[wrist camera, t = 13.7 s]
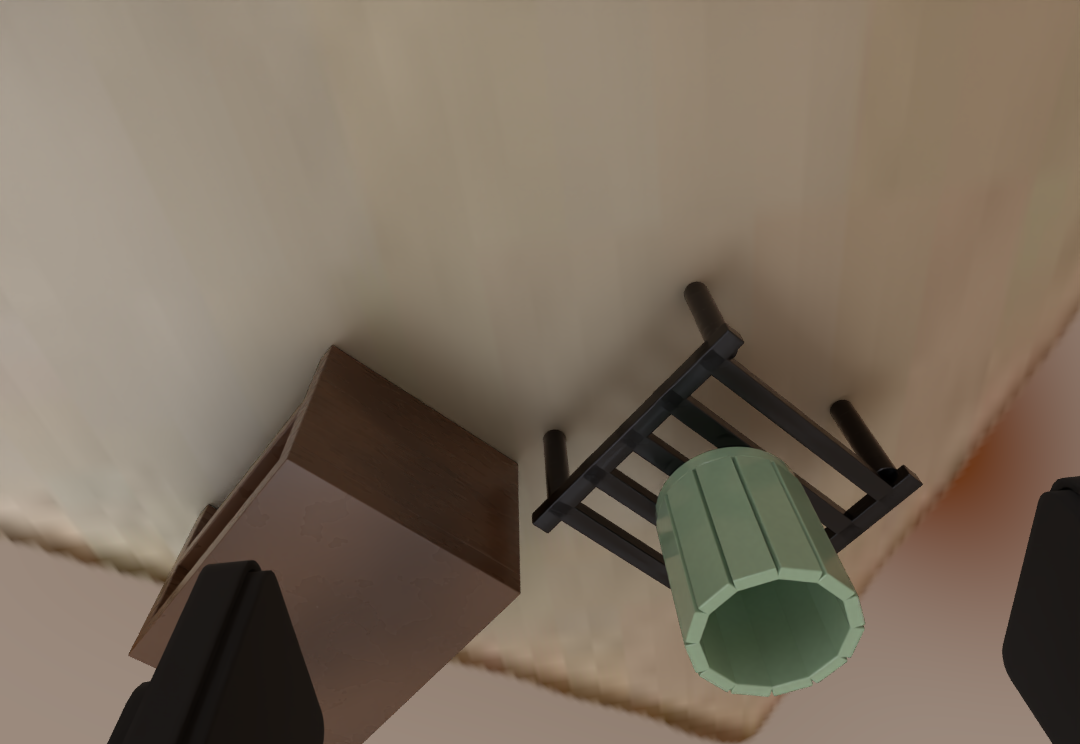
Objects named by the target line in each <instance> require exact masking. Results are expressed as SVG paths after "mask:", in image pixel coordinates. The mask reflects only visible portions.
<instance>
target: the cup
mask: <svg viewBox="0 0 1080 744" xmlns="http://www.w3.org/2000/svg"><path fill="white" fill-rule="evenodd" d="M655 515H656V524H657V526H656V528H657V533H658V537H659V541H660V545H661V549H662V554H663V558H664V562H665V566H666V570H667V574H668V579H669V583H670V587H671V591H672V595H673V599H674V604H675V608H676V612H677V616H678V620H679V625H680V629H681V633H682V637H683V641H684V645H685V648H686V651H687V653H688V655H689V658H690V660H691V663H692V665H693V667H694V670H695V672H696V673H698V674H699V676H700V677H702V678H704V679H705V680H707V681H709V682H710V683H712V684H714V685H715V686H717V687H719V688H721V689H722V690H724V691H726V692H728V691H729V690H731V693H732V694H742V695H754V696H766V697H769V696H770V694H771V691H772V693H773V695H774V696H777V695H781V694H785V693H788V692H792V691H795V690H799V689H803V688H806V687H810V686H812V685H813V683H812V680H813V681H814V682H816V683H819V682H820V681H822V680H823V679H824V678H826V677H827V676H828V675H830V674H831V673H832V672H834V671H835V670H836V669H838V668H839V667H841V666H842V665H843V664H845V663H846V662H847V658H846V657H848V658H850V657H851V656H852V654H853V652H854V650H855V648H856V646H857V644H858V642H859V640H860V638H861V636H862V633H863V631H864V626H863V625H865V620H864V616H863V612H862V609H861V605H860V601H859V597H858V595H857V593H856V591H855V589H854V587H853V585H852V583H851V581H850V579H849V577H848V575H847V573H846V571H845V569H844V567H843V565H842V563H841V561H840V559H839V557H838V555H837V553H836V551H835V549H834V547H833V545H832V543H831V541H830V540H829V538H828V536H827V534H826V532H825V530H824V528H823V526H822V524H821V522H820V520H819V518H818V516H817V514H816V512H815V510H814V508H813V506H812V504H811V502H810V500H809V498H808V496H807V494H806V492H805V490H804V488H803V486H802V484H801V483H800V482H799V480H798V478H796V476H795V475H794V473H793V471H792V470H791V469H790V468H789V467H788V465H786V464H785V463H784V462H783V461H782V460H781V459H779V458H777V457H776V456H774V455H772V454H770V453H768V452H766V451H762V450H759V449H755V448H750V447H725V448H719V449H715V450H711V451H708V452H705V453H702V454H700V455H698V456H696V457H694V458H692V459H690V460H689V461H687V462H686V463H684V464H683V465H681V466H680V467H679V468H678V469H677V470H675V471H674V473H673V474H672V475H671V476H670V477H669V478H668V479H667V481H666V482H665V484H664V485H663V487H662V489H661V491H660V493H659V496H658V499H657V503H656V512H655Z"/></svg>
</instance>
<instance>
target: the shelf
mask: <svg viewBox="0 0 1080 744" xmlns="http://www.w3.org/2000/svg"><path fill="white" fill-rule="evenodd" d="M245 560H255V561H256V562H257V563H258V564H259V566H260V568H261V570H262V571H266V570H272V571H273V572H274V573H275V576H276V578H277V581H278V584H279V587H280V589H281V592H282V595H283V598H284V601H285V604H286V607H287V610H288V613H289V616H290V619H291V622H292V625H293V628H294V631H295V634H296V637H297V640H298V643H299V646H300V649H301V652H302V655H303V657H304V660H305V663H306V666H307V669H308V672H309V675H310V678H311V681H312V684H313V687H314V690H315V693H316V696H317V699H318V702H319V705H320V708H321V711H322V714H323V719H324V742H323V744H362V743H363V742H364V741H365V740H367V739H368V738H369V737H370V736H371V735H372V734H373V733H374V732H375V731H376V730H377V729H378V728H379V727H380V726H381V725H382V724H383V723H384V722H386V720H388V719H389V718H390V717H391V716H392V715H393V714H394V713H395V712H396V711H397V710H398V709H399V708H400V707H401V706H402V705H403V704H405V703H406V702H407V701H408V700H409V699H410V698H411V697H412V696H413V695H414V694H415V693H416V692H417V691H418V690H419V689H420V688H421V687H423V686H424V685H425V684H426V683H427V682H428V681H429V680H430V679H431V678H432V677H433V676H434V675H435V674H436V673H437V672H438V671H439V670H440V669H442V668H443V667H444V666H445V665H446V664H447V663H448V662H449V661H450V660H451V659H452V658H453V657H454V656H455V655H456V654H457V653H458V652H459V651H460V650H462V649H463V648H464V647H465V646H466V645H467V644H468V643H469V642H470V641H471V640H472V639H473V638H474V637H475V636H476V635H477V634H478V633H479V632H481V631H482V630H483V629H484V628H485V627H486V626H487V625H488V624H489V623H490V622H491V621H492V620H493V619H494V618H495V617H496V616H497V615H498V614H500V613H501V612H502V611H503V610H504V609H505V608H506V607H507V606H508V605H509V604H510V603H511V602H512V601H513V600H514V599H515V598H516V597H517V596H519V595H520V553H519V498H518V464H517V463H516V462H514V461H512V460H511V459H509V458H508V457H506V456H505V455H503V454H502V453H500V452H498V451H497V450H495V449H494V448H492V447H491V446H489V445H488V444H486V443H484V442H483V441H481V440H480V439H478V438H477V437H475V436H474V435H472V434H470V433H469V432H467V431H466V430H464V429H463V428H461V427H460V426H458V425H456V424H455V423H453V422H452V421H450V420H449V419H447V418H446V417H444V416H442V415H441V414H439V413H438V412H436V411H435V410H433V409H432V408H430V407H428V406H427V405H425V404H424V403H422V402H421V401H419V400H418V399H416V398H414V397H413V396H411V395H410V394H408V393H407V392H405V391H404V390H402V389H400V388H399V387H397V386H396V385H394V384H393V383H391V382H390V381H388V380H386V379H385V378H383V377H382V376H380V375H379V374H377V373H376V372H374V371H372V370H371V369H369V368H368V367H366V366H365V365H363V364H362V363H360V362H358V361H357V360H355V359H354V358H352V357H351V356H349V355H348V354H346V353H344V352H343V351H341V350H340V349H338V348H337V347H335V346H334V345H332V346H331V347H330V348H329V349H328V351H327V352H326V353H325V355H324V356H323V357H322V358H321V360H320V362H319V364H318V367H317V369H316V372H315V374H314V376H313V379H312V381H311V384H310V386H309V389H308V391H307V393H306V396H305V398H304V401H303V403H301V405H300V406H299V407H298V408H297V410H296V411H295V412H294V413H293V415H292V416H291V417H290V418H289V420H288V421H287V422H286V424H285V425H284V426H283V427H282V429H281V430H280V431H279V432H278V434H277V435H276V436H275V438H274V439H273V440H272V441H271V443H270V444H269V445H268V446H267V448H266V449H265V450H264V452H263V453H262V454H261V455H260V457H259V458H258V459H257V460H256V462H255V463H254V464H253V466H252V467H251V468H250V469H249V471H248V472H247V473H246V474H245V476H244V477H243V478H242V479H241V481H240V482H239V483H238V485H237V486H236V487H235V488H234V490H233V491H232V492H231V493H230V495H229V496H228V497H227V499H226V500H225V501H224V502H223V504H222V505H221V506H220V507H219V509H216V508H214V507H212V506H210V505H207V506H206V508H205V509H204V510H203V512H202V513H201V514H200V515H199V517H198V518H197V520H196V522H195V524H194V526H193V528H192V530H191V532H190V534H189V536H188V538H187V540H186V542H185V544H184V546H183V548H182V550H181V552H180V554H179V556H178V558H177V560H176V562H175V564H174V566H173V568H172V570H171V572H170V574H169V576H168V578H167V580H166V581H165V583H164V585H163V587H162V589H161V591H160V594H159V595H158V598H157V599H156V601H155V603H154V605H153V607H152V609H151V611H150V613H149V615H148V617H147V619H146V621H145V623H144V625H143V627H142V629H141V631H140V633H139V635H138V637H137V639H136V641H135V643H134V644H133V646H132V649H131V650H130V652H129V656H130V657H132V658H135V659H137V660H139V661H141V662H143V663H146V664H148V665H150V666H152V667H154V668H157V666H158V664H159V661H160V659H161V657H162V655H163V653H164V650H165V648H166V646H167V644H168V642H169V639H170V637H171V635H172V633H173V631H174V628H175V626H176V624H177V622H178V620H179V617H180V615H181V613H182V611H183V609H184V606H185V604H186V602H187V600H188V598H189V596H190V593H191V591H192V589H193V587H194V585H195V582H196V580H197V578H198V576H199V574H200V572H201V570H202V569H203V567H205V566H206V565H208V564H216V563H226V562H236V561H245Z"/></svg>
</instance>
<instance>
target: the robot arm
mask: <svg viewBox="0 0 1080 744" xmlns="http://www.w3.org/2000/svg"><path fill="white" fill-rule="evenodd" d="M1002 654H1003V661H1004V665H1005V668H1006V671H1007V673H1008V675H1009V677H1010V679H1011V681H1012V682H1013V684H1014V685H1015V687H1016V688H1017V690H1018V691H1019V693H1020V694H1021V696H1022V698H1023V699H1024V701H1025V702H1026V704H1027V705H1028V707H1029V708H1030V710H1031V711H1032V713H1033V714H1034V716H1035V718H1036V719H1037V721H1038V722H1039V724H1040V725H1041V727H1042V728H1043V730H1044V731H1045V733H1046V734H1047V736H1048V737H1049V739H1050V740H1051V742H1052V744H1080V476H1077V477H1068V478H1061V479H1058V480H1057V481H1056V482H1055V483H1054V484H1053V486H1052V488H1051V490H1050V492H1045V493H1043V494H1042V495H1041V496H1040V499H1039V501H1038V505H1037V509H1036V513H1035V517H1034V521H1033V525H1032V529H1031V533H1030V537H1029V542H1028V545H1027V549H1026V554H1025V558H1024V562H1023V566H1022V570H1021V574H1020V578H1019V582H1018V586H1017V590H1016V594H1015V598H1014V602H1013V606H1012V610H1011V614H1010V619H1009V623H1008V627H1007V631H1006V635H1005V639H1004V643H1003V649H1002ZM323 742H324V719H323V714H322V711H321V708H320V705H319V702H318V699H317V696H316V693H315V690H314V687H313V684H312V681H311V678H310V675H309V672H308V669H307V666H306V663H305V660H304V657H303V655H302V652H301V649H300V646H299V643H298V640H297V637H296V634H295V631H294V628H293V625H292V622H291V619H290V616H289V613H288V610H287V607H286V604H285V601H284V598H283V595H282V592H281V589H280V587H279V584H278V581H277V578H276V576H275V573H274V572H273V571H272V570H266V571H262V570H261V568H260V566H259V564H258V563H257V562H256V561H255V560H245V561H236V562H226V563H216V564H208V565H206V566H205V567H203V569H202V570H201V572H200V574H199V576H198V578H197V580H196V582H195V585H194V587H193V589H192V591H191V593H190V596H189V598H188V600H187V602H186V604H185V606H184V609H183V611H182V613H181V615H180V617H179V620H178V622H177V624H176V626H175V628H174V631H173V633H172V635H171V637H170V639H169V642H168V644H167V646H166V648H165V650H164V653H163V655H162V657H161V659H160V661H159V664H158V666H157V668H156V670H155V673H154V675H153V677H152V679H151V681H149V682H144V683H142V684H141V685H140V686H138V687H137V688H136V689H135V690H134V692H133V693H132V695H131V696H130V698H129V700H128V701H127V703H126V705H125V707H124V709H123V711H122V714H121V716H120V718H119V720H118V722H117V724H116V726H115V728H114V730H113V733H112V735H111V737H110V739H109V741H108V743H107V744H323Z"/></svg>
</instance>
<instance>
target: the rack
mask: <svg viewBox="0 0 1080 744" xmlns="http://www.w3.org/2000/svg"><path fill="white" fill-rule="evenodd" d="M684 297H685V300H686V302H687V304H688V306H689V309H690V311H691V313H692V315H693V317H694V320H695V322H696V324H697V326H698V328H699V331H700V333H701V335H702V337H703V339H704V343H703V344H702V345H701V346H700V347H699V348H698V349H697V350H696V351H695V352H694V353H693V354H692V355H691V356H690V357H689V358H688V359H687V360H686V361H685V362H684V363H683V364H682V365H681V366H680V367H679V368H678V369H677V370H676V371H675V372H674V373H673V374H672V375H671V376H670V377H669V378H668V379H667V380H666V381H665V382H664V383H663V384H662V385H661V386H660V387H659V388H658V389H657V390H656V391H655V392H654V393H653V394H652V395H651V396H650V397H649V398H648V399H647V400H646V401H645V402H644V403H643V404H642V405H641V406H640V407H639V408H638V409H637V410H636V411H635V412H634V413H633V414H632V415H631V416H630V417H629V418H628V419H627V420H626V421H625V422H624V423H623V424H622V425H621V426H620V427H619V428H618V429H617V430H616V431H615V432H614V433H613V434H612V435H611V436H610V437H609V438H608V439H607V440H606V441H605V442H604V443H603V444H602V445H601V446H600V447H599V448H598V449H597V450H596V451H595V452H594V453H592V454H591V455H590V456H589V457H588V458H587V459H586V460H585V461H584V462H583V463H582V464H581V465H580V467H579V468H578V469H577V470H576V471H575V472H574V473H573V474H572V475H571V476H569V467H568V457H567V448H566V439H565V435H564V434H563V433H562V432H561V431H559V430H550V431H548V432H547V433H546V434H545V435H544V438H543V442H544V457H545V471H546V486H547V499H546V500H545V501H544V502H543V503H542V504H541V505H540V506H539V507H538V508H537V509H536V510H535V511H534V512H533V514H532V523H533V525H535V526H537V527H538V528H540V529H541V530H543V531H545V532H546V533H549V532H550V531H551V530H552V529H553V528H554V527H555V526H556V525H557V524H558V523H559V522H560V521H563V522H565V523H566V524H568V525H569V526H571V527H573V528H574V529H576V530H577V531H579V532H581V533H582V534H584V535H585V536H587V537H588V538H590V539H592V540H593V541H595V542H596V543H598V544H600V545H601V546H603V547H604V548H606V549H608V550H609V551H611V552H612V553H614V554H616V555H617V556H619V557H620V558H622V559H623V560H625V561H627V562H628V563H630V564H631V565H633V566H635V567H636V568H638V569H639V570H641V571H643V572H644V573H646V574H647V575H649V576H651V577H652V578H654V579H655V580H657V581H659V582H660V583H662V584H663V585H665V586H666V587H668V588H670V589H671V587H670V583H669V579H668V574H667V570H666V566H665V562H664V558H663V555H662V554H660V553H659V552H657V551H656V550H654V549H652V548H651V547H649V546H648V545H646V544H645V543H643V542H642V541H640V540H638V539H637V538H635V537H634V536H632V535H631V534H629V533H628V532H626V531H624V530H623V529H621V528H620V527H618V526H617V525H615V524H614V523H612V522H610V521H609V520H607V519H606V518H604V517H603V516H601V515H600V514H598V513H597V512H595V511H593V510H592V509H590V508H589V507H587V506H586V505H584V504H583V503H581V501H582V500H583V499H584V498H585V497H586V496H587V495H588V494H589V493H590V492H591V491H592V490H593V489H594V488H595V487H597V488H599V489H600V490H602V491H603V492H605V493H607V494H608V495H610V496H611V497H613V498H614V499H616V500H617V501H619V502H620V503H622V504H623V505H625V506H626V507H628V508H629V509H631V510H632V511H634V512H635V513H637V514H638V515H640V516H642V517H643V518H645V519H646V520H648V521H649V522H651V523H652V524H654V525H655V526H657V524H656V515H655V512H656V503H657V499H658V497H657V496H656V495H654V494H653V493H652V492H650V491H649V490H647V489H646V488H644V487H643V486H641V485H640V484H638V483H637V482H635V481H634V480H632V479H631V478H629V477H628V476H626V475H625V474H623V473H622V472H620V471H619V470H617V469H616V467H617V466H618V465H619V464H620V463H621V462H622V461H623V460H624V459H625V458H626V457H627V456H628V455H629V454H630V453H632V452H633V451H634V452H635V453H637V454H638V455H640V456H641V457H642V458H644V459H645V460H647V461H648V462H650V463H651V464H653V465H654V466H656V467H657V468H658V469H660V470H661V471H663V472H664V473H666V474H667V475H669V476H671V475H672V474H673V473H674V471H675V470H677V469H678V468H679V467H680V466H681V465H683V464H684V463H686V462H687V461H689V459H688V458H687V457H685V456H684V455H682V454H681V453H680V452H678V451H677V450H675V449H674V448H672V447H671V446H670V445H668V444H667V443H665V442H664V441H663V440H661V439H660V438H658V437H657V436H656V435H654V434H653V433H652V432H653V431H654V430H655V429H656V428H657V427H658V426H659V425H660V424H661V423H662V422H663V421H664V420H666V419H667V418H668V417H669V416H670V415H671V414H672V415H673V416H674V417H676V418H677V419H679V420H680V421H681V422H683V423H684V424H685V425H687V426H688V427H690V428H691V429H692V430H694V431H695V432H697V433H698V434H699V435H701V436H702V437H703V438H705V439H706V440H708V441H709V442H710V443H712V444H713V445H714V446H716V447H717V448H725V447H750V448H755V449H759V450H762V451H765V450H763V449H762V448H761V447H759V446H758V445H757V444H755V443H754V442H753V441H751V440H750V439H749V438H747V437H746V436H744V435H743V434H742V433H740V432H739V431H738V430H736V429H735V428H734V427H732V426H731V425H730V424H728V423H727V422H726V421H724V420H723V419H722V418H720V417H719V416H718V415H716V414H715V413H714V412H712V411H711V410H709V409H708V408H707V407H705V406H704V405H703V404H701V403H700V402H699V401H697V400H696V399H695V398H693V397H692V396H691V394H692V393H693V392H694V391H695V390H696V389H697V388H698V387H700V386H701V385H702V384H703V383H704V382H705V381H706V380H707V379H708V378H709V377H710V376H711V375H712V376H713V377H715V378H716V379H717V380H719V381H720V382H721V383H723V384H724V385H725V386H727V387H728V388H729V389H731V390H732V391H733V392H734V393H736V394H737V395H738V396H740V397H741V398H742V399H744V400H745V401H746V402H748V403H749V404H750V405H751V406H753V407H754V408H755V409H757V410H758V411H759V412H761V413H762V414H763V415H765V416H766V417H767V418H769V419H770V420H771V421H772V422H774V423H775V424H776V425H778V426H779V427H780V428H782V429H783V430H784V431H786V432H787V433H788V434H790V435H791V436H792V437H793V438H795V439H796V440H797V441H799V442H800V443H801V444H803V445H804V446H805V447H807V448H808V449H809V450H810V451H812V452H813V453H814V454H816V455H817V456H818V457H820V458H821V459H822V460H824V461H825V462H826V463H828V464H829V465H830V466H831V467H833V468H834V469H835V470H837V471H838V472H839V473H841V474H842V475H843V476H845V477H846V478H847V479H848V480H850V481H851V482H852V483H854V484H855V485H856V486H858V487H859V488H860V489H862V490H863V491H864V492H866V493H867V495H865V496H864V497H863V498H862V499H861V500H859V501H858V502H857V503H856V504H854V505H853V506H852V507H851V508H850V509H848V510H847V511H845V510H844V509H843V508H841V507H840V506H839V505H837V504H836V503H835V502H833V501H832V500H831V499H829V498H828V497H827V496H825V495H824V494H823V493H821V492H820V491H819V490H817V489H816V488H814V487H813V486H812V485H810V484H809V483H808V482H806V481H805V480H804V479H802V478H801V477H800V476H798V475H797V474H796V473H794V472H793V473H794V475H795V476H796V478H798V480H799V482H800V483H801V484H802V486H803V488H804V490H805V492H806V494H807V496H808V498H809V500H810V502H811V504H812V506H813V508H814V510H815V512H816V514H817V516H818V518H819V520H820V522H821V523H822V524H823V525H825V526H826V528H825V529H824V530H825V532H826V534H827V536H828V538H829V540H830V541H831V543H832V545H833V547H834V549H835V551H836V553H838V552H840V551H841V550H842V549H843V548H845V547H846V546H847V545H848V544H849V543H851V542H852V541H853V540H855V539H856V538H857V537H858V536H860V535H861V534H862V533H863V532H864V531H866V530H867V529H868V528H869V527H871V526H872V525H873V524H874V523H876V522H877V521H878V520H879V519H881V518H882V517H883V516H884V515H886V514H887V513H888V512H889V511H891V510H892V509H893V508H894V507H896V506H897V505H898V504H899V503H901V502H902V501H903V500H904V499H906V498H907V497H908V496H909V495H911V494H912V493H913V492H914V491H916V490H917V489H918V488H919V487H921V486H922V485H923V484H922V482H921V481H920V480H919V478H918V477H917V475H916V474H914V473H913V472H912V471H911V470H909V469H908V468H907V467H906V466H904V465H902V466H901V467H900V468H898V469H896V468H895V466H894V465H893V463H892V462H891V461H890V459H889V458H888V456H887V455H886V453H885V452H884V450H883V449H882V448H881V446H880V445H879V443H878V442H877V440H876V439H875V437H874V436H873V434H872V433H871V432H870V430H869V429H868V427H867V426H866V424H865V423H864V421H863V420H862V419H861V417H860V416H859V414H858V413H857V411H856V410H855V408H854V407H853V406H852V404H851V403H850V402H849V401H846V400H840V401H837V402H835V403H834V404H833V405H832V407H831V409H830V414H831V416H832V417H833V419H834V420H835V422H836V424H837V425H838V427H839V428H840V430H841V431H842V433H843V435H844V436H845V438H846V439H847V441H848V442H849V444H850V446H851V447H852V449H853V450H854V452H855V453H856V454H855V453H854V452H852V451H851V450H850V449H848V448H847V447H846V446H845V445H843V444H842V443H841V442H840V441H838V440H837V439H836V438H834V437H833V436H832V435H831V434H829V433H828V432H827V431H825V430H824V429H823V428H822V427H820V426H819V425H818V424H817V423H815V422H814V421H813V420H811V419H810V418H809V417H808V416H806V415H805V414H804V413H802V412H801V411H800V410H799V409H797V408H796V407H795V406H794V405H792V404H791V403H790V402H788V401H787V400H786V399H785V398H783V397H782V396H781V395H779V394H778V393H777V392H776V391H774V390H773V389H772V388H770V387H769V386H768V385H767V384H765V383H764V382H763V381H762V380H760V379H759V378H758V377H756V376H755V375H754V374H753V373H751V372H750V371H749V370H747V369H746V368H745V367H744V366H742V365H741V364H740V363H739V362H737V361H736V360H735V359H733V358H734V357H735V356H736V354H737V351H738V349H739V348H740V347H741V346H742V345H743V344H744V341H743V339H742V337H741V335H740V334H739V333H738V332H736V331H735V330H734V329H733V328H731V327H730V326H729V325H728V324H726V323H725V321H724V319H723V317H722V315H721V313H720V311H719V309H718V307H717V305H716V304H715V302H714V300H713V298H712V296H711V294H710V292H709V290H708V288H707V286H706V285H705V284H703V283H701V282H693V283H691V284H689V285H688V286H687V287H686V289H685V291H684Z"/></svg>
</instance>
